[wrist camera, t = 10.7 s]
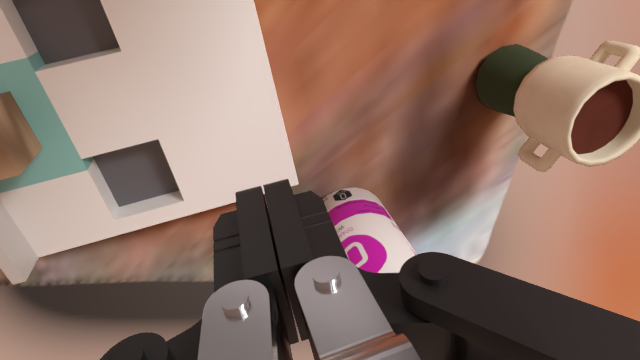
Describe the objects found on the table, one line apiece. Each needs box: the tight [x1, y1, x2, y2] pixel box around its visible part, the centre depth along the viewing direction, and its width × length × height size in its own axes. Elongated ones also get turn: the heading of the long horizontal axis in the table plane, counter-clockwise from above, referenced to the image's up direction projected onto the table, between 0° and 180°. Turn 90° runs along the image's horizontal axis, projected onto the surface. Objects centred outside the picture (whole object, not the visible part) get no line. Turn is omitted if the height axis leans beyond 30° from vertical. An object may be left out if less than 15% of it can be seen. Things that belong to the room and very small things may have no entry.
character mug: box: [476, 41, 640, 172], centre depth 36 cm, size 11×7×13 cm, turn 149°
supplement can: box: [323, 187, 417, 273], centre depth 38 cm, size 8×8×15 cm
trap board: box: [0, 0, 299, 285], centre depth 32 cm, size 22×24×6 cm
